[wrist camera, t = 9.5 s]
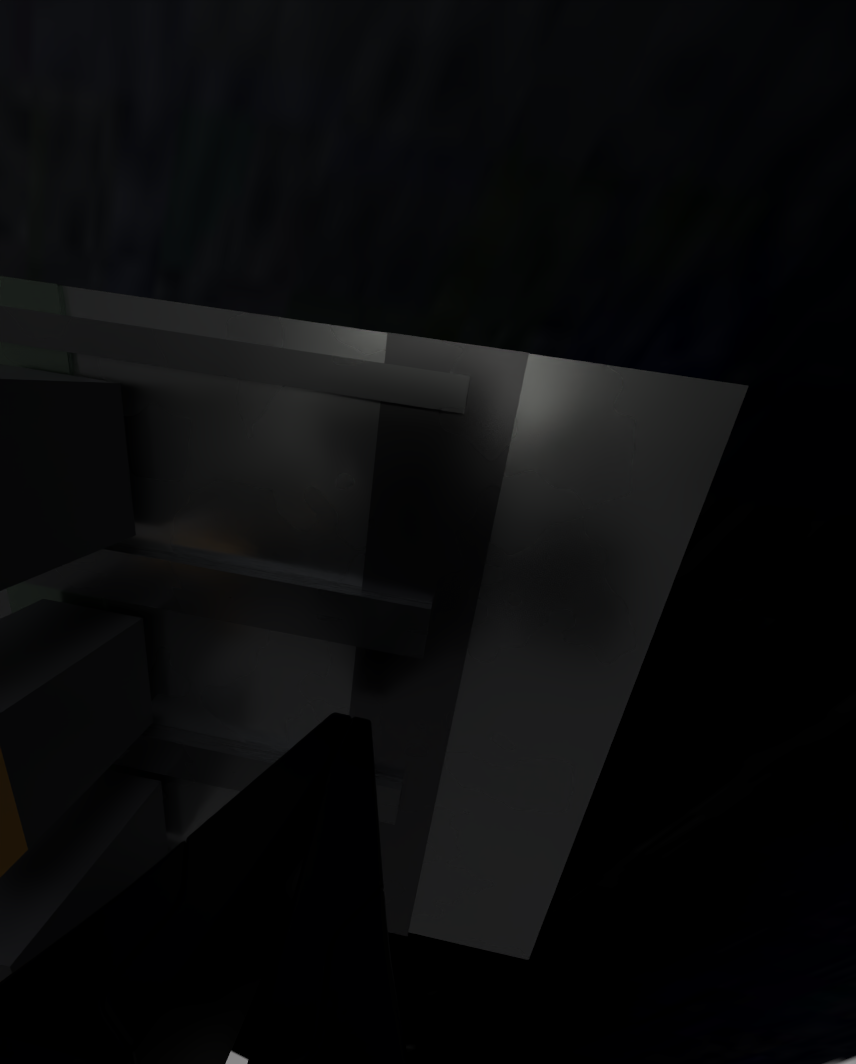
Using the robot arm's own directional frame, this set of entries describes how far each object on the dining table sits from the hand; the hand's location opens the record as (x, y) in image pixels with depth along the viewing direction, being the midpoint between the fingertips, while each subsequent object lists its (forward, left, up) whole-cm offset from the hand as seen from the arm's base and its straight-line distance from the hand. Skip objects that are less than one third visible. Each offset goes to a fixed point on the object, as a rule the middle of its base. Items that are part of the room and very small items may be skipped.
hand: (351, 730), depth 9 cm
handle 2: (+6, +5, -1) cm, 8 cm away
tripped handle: (+6, 0, -1) cm, 6 cm away
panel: (+3, 0, -2) cm, 4 cm away
